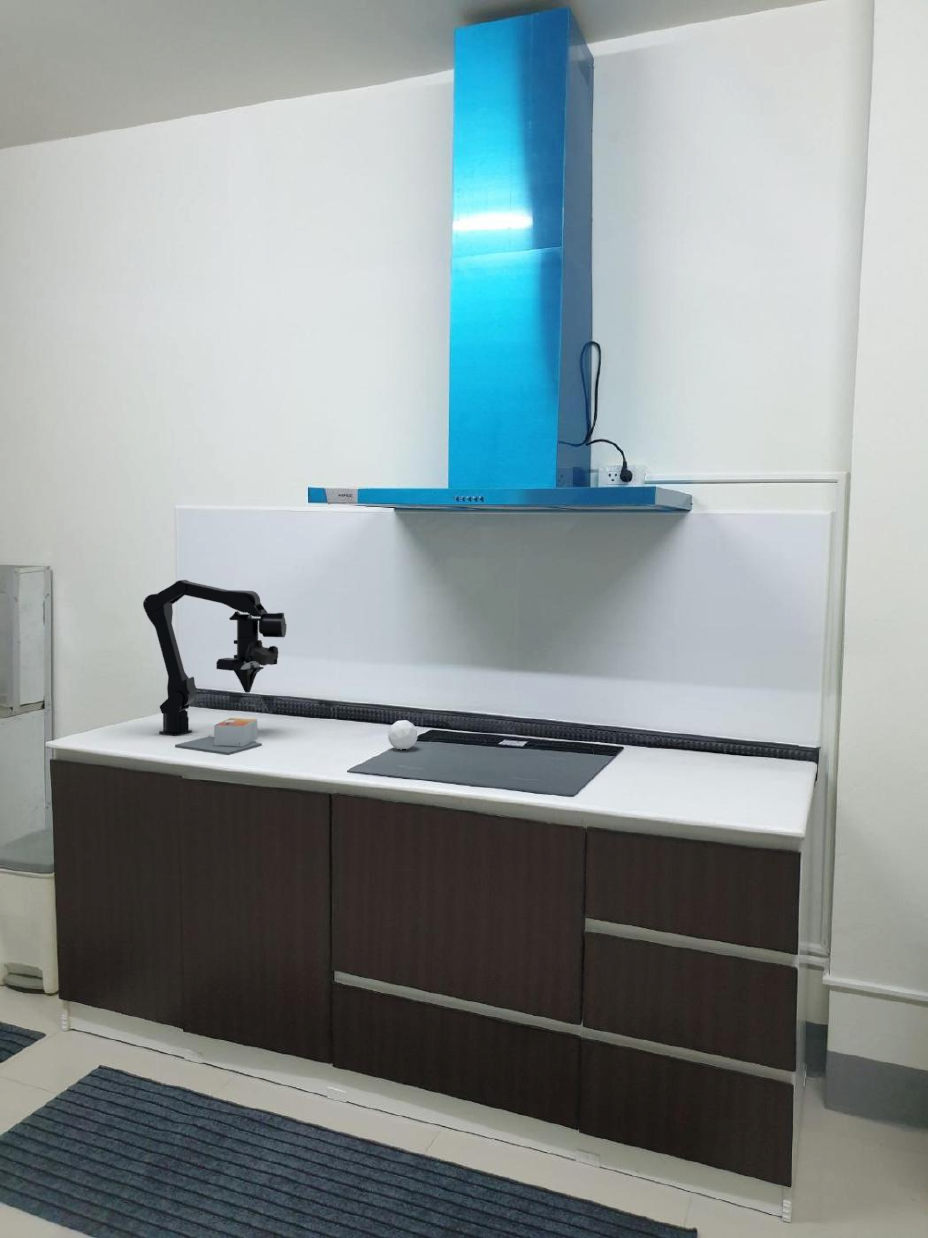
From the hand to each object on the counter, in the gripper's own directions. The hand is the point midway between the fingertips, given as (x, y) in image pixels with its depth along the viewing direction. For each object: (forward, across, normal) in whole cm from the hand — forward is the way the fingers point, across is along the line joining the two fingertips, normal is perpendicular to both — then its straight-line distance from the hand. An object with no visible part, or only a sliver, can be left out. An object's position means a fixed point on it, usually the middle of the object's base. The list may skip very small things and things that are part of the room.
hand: (247, 692), depth 266 cm
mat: (+12, -15, -4) cm, 20 cm away
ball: (+12, +8, -46) cm, 48 cm away
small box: (+8, -6, -5) cm, 12 cm away
